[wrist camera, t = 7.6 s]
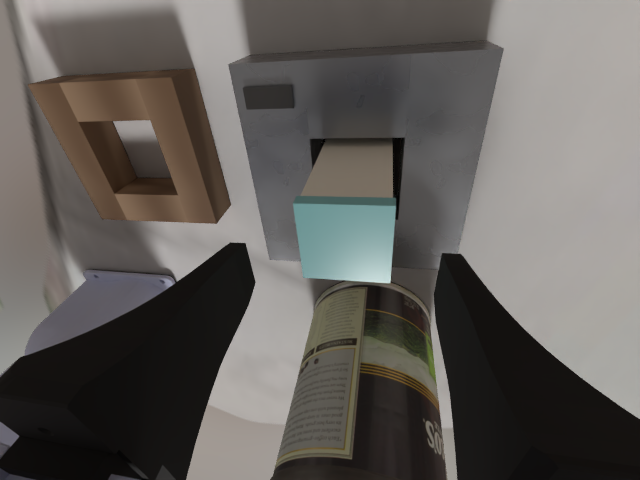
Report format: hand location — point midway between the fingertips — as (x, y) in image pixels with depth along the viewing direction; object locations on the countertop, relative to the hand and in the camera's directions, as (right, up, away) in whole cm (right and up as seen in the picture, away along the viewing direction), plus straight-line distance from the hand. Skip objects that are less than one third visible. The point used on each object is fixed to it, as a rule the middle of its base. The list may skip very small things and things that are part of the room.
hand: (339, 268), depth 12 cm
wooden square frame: (-12, +7, +10) cm, 17 cm away
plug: (+2, +6, +8) cm, 10 cm away
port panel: (+2, +6, +8) cm, 10 cm away
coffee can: (+4, -6, +17) cm, 18 cm away
